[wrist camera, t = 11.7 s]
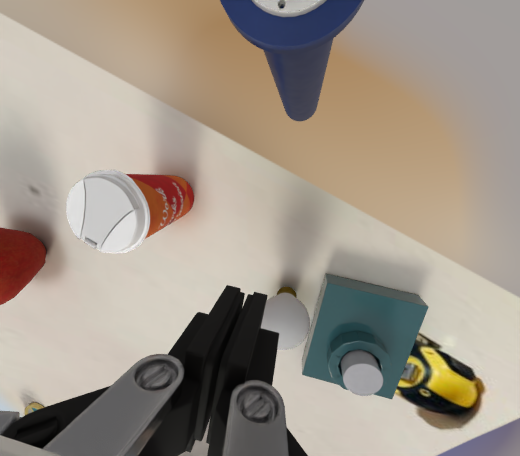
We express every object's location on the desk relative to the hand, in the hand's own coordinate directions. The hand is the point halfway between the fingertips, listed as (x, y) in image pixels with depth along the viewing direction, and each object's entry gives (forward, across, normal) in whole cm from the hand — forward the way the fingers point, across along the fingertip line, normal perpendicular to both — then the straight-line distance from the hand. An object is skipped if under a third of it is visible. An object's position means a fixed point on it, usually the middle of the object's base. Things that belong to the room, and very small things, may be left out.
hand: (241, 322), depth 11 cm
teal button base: (+25, -13, +14) cm, 32 cm away
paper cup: (+25, +15, +1) cm, 29 cm away
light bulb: (+25, -3, +11) cm, 28 cm away
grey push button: (+21, -13, +16) cm, 29 cm away
